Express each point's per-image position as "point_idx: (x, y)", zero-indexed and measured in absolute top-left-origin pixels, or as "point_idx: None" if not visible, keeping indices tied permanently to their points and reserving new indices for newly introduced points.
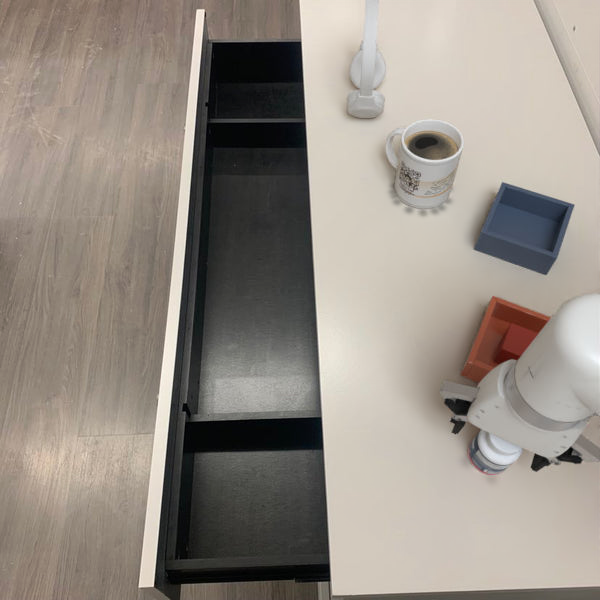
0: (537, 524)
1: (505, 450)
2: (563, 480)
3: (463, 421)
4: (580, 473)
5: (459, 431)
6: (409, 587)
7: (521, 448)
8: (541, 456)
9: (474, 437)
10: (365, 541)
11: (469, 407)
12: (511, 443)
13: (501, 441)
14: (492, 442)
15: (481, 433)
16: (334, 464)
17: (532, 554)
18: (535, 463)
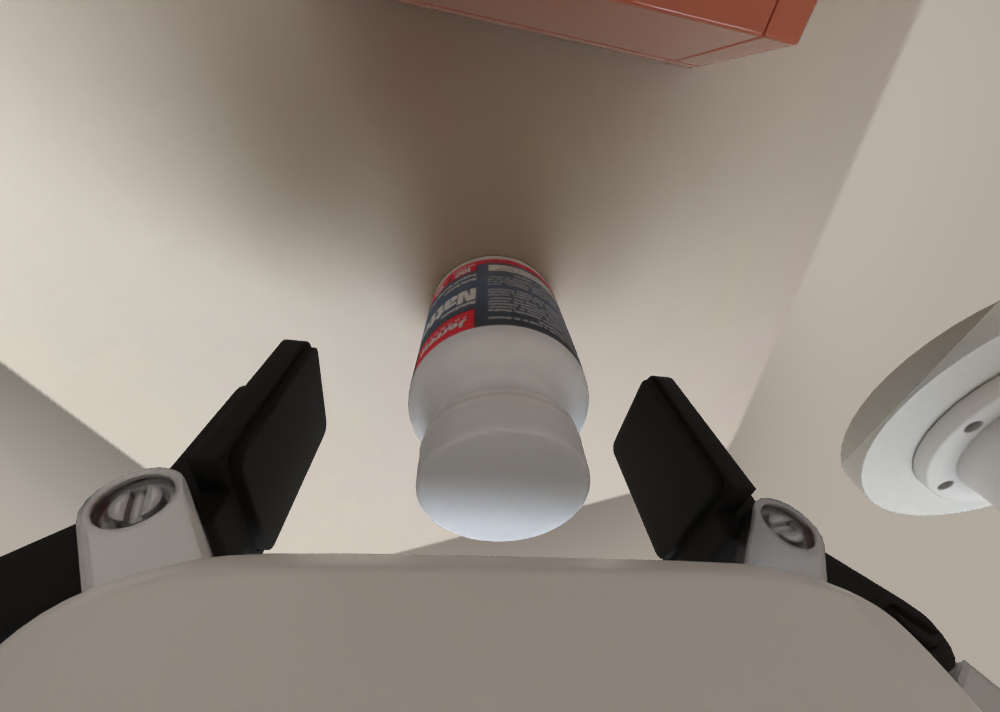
0: (622, 422)
1: (504, 539)
2: (706, 315)
3: (249, 550)
4: (763, 282)
5: (308, 465)
6: (400, 551)
7: (581, 424)
8: (661, 529)
9: (427, 318)
10: (296, 528)
11: (212, 531)
12: (528, 513)
13: (482, 516)
14: (443, 527)
15: (413, 413)
16: (127, 445)
17: (607, 467)
18: (631, 485)
